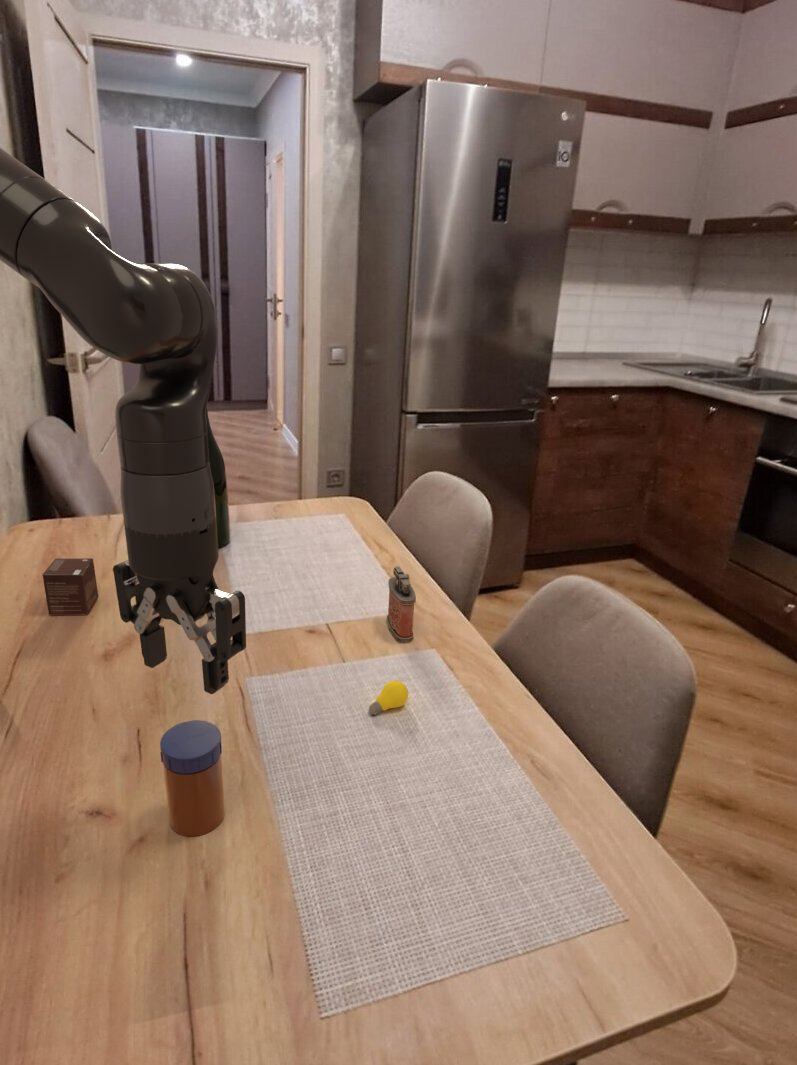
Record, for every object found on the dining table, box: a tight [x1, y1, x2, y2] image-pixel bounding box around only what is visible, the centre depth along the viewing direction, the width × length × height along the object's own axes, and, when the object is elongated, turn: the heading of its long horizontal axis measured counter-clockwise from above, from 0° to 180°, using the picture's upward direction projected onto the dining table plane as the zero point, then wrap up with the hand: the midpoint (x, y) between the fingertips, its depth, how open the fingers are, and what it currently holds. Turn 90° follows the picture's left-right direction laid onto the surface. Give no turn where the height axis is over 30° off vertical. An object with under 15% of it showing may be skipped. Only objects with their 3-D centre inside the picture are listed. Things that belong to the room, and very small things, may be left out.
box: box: [42, 557, 99, 616], centre depth 107 cm, size 6×6×7 cm
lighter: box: [386, 565, 417, 644], centre depth 105 cm, size 8×3×10 cm, turn 17°
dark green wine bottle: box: [206, 406, 231, 549], centre depth 129 cm, size 10×10×33 cm
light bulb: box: [368, 680, 409, 716], centre depth 88 cm, size 3×6×4 cm, turn 128°
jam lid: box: [159, 719, 223, 774], centre depth 66 cm, size 6×6×2 cm
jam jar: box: [162, 754, 226, 837], centre depth 68 cm, size 6×6×10 cm
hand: (185, 675), depth 63 cm, fingers open, 7 cm apart
